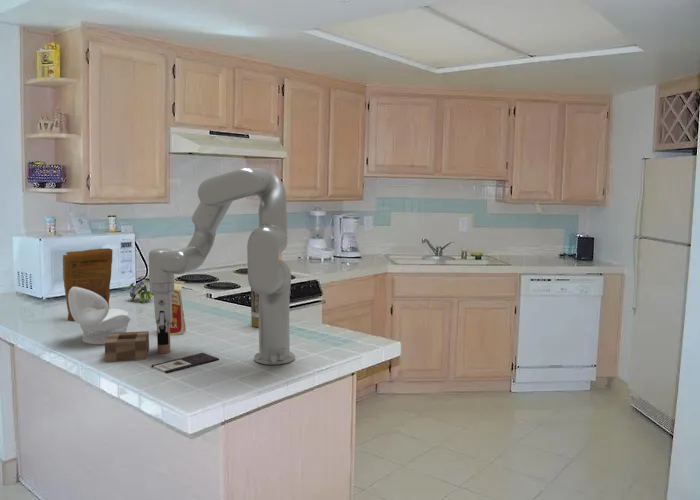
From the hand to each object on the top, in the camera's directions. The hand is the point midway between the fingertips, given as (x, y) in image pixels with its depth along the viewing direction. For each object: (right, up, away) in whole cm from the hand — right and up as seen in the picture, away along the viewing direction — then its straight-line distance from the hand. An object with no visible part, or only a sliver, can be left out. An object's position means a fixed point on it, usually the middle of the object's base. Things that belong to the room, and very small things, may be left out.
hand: (163, 341), depth 198 cm
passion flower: (-35, +6, +81) cm, 88 cm away
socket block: (-10, -4, -3) cm, 12 cm away
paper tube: (+26, 0, +36) cm, 44 cm away
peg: (0, -4, 0) cm, 4 cm away
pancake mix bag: (-43, +2, +46) cm, 63 cm away
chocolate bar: (+10, -6, -11) cm, 16 cm away
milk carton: (-4, -1, +26) cm, 26 cm away
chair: (-26, -2, +15) cm, 30 cm away
